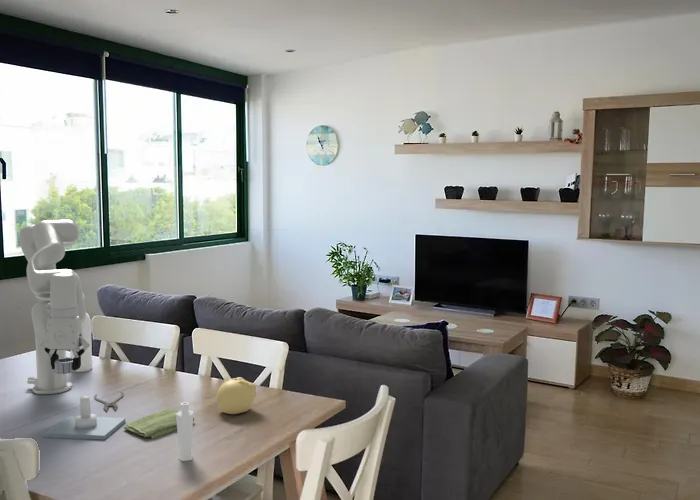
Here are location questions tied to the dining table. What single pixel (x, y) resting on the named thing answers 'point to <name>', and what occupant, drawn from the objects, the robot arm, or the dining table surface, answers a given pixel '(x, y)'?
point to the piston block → (85, 425)
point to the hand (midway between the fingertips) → (66, 368)
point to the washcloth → (155, 424)
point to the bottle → (87, 355)
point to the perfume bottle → (185, 432)
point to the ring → (64, 365)
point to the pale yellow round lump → (235, 395)
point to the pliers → (107, 405)
